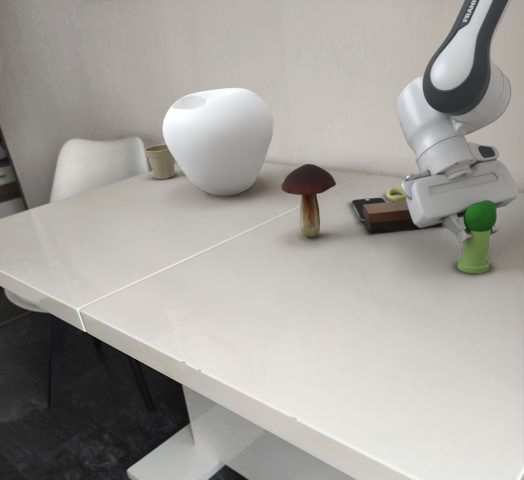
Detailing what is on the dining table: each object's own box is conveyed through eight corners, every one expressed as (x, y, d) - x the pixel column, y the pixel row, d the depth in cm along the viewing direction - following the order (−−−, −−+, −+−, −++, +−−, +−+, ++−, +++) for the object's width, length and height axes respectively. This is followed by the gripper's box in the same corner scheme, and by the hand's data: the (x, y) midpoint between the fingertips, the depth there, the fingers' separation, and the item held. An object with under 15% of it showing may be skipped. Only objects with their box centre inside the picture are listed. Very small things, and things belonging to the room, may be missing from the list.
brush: (435, 217, 118) (437, 197, 115) (444, 226, 113) (446, 205, 110) (362, 224, 118) (362, 204, 115) (368, 234, 112) (369, 213, 110)
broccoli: (482, 259, 97) (492, 196, 91) (495, 271, 93) (505, 205, 87) (452, 263, 97) (459, 199, 91) (462, 275, 93) (471, 209, 87)
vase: (226, 172, 164) (216, 83, 151) (296, 183, 148) (291, 84, 135) (155, 198, 147) (136, 100, 134) (225, 213, 131) (211, 104, 118)
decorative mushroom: (307, 250, 108) (304, 175, 100) (274, 237, 115) (268, 166, 107) (347, 235, 113) (347, 162, 105) (312, 223, 121) (310, 154, 112)
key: (439, 193, 131) (440, 184, 129) (395, 203, 128) (395, 194, 126) (422, 186, 136) (422, 178, 135) (379, 195, 133) (379, 187, 132)
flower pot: (146, 176, 168) (140, 147, 164) (174, 170, 171) (170, 142, 167) (154, 183, 161) (148, 153, 156) (183, 177, 164) (179, 147, 159)
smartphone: (382, 197, 130) (396, 217, 117) (382, 200, 130) (396, 220, 117) (350, 199, 130) (361, 220, 117) (350, 202, 130) (361, 223, 118)
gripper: (406, 166, 88) (440, 241, 86) (504, 145, 94) (538, 215, 92) (389, 187, 94) (420, 258, 92) (482, 166, 100) (513, 232, 98)
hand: (480, 236), depth 92 cm, fingers closed on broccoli, 4 cm apart
